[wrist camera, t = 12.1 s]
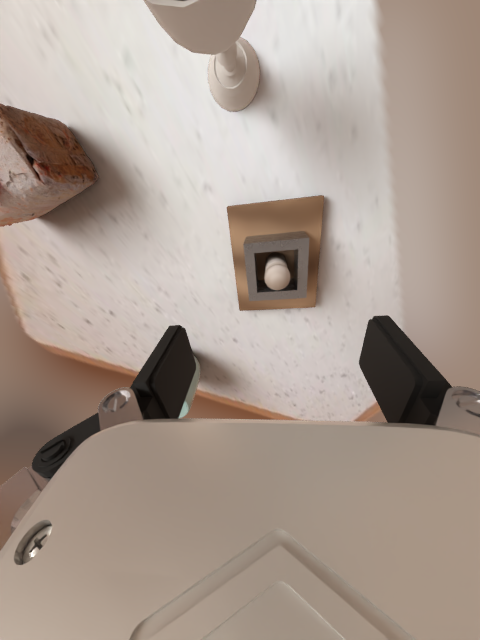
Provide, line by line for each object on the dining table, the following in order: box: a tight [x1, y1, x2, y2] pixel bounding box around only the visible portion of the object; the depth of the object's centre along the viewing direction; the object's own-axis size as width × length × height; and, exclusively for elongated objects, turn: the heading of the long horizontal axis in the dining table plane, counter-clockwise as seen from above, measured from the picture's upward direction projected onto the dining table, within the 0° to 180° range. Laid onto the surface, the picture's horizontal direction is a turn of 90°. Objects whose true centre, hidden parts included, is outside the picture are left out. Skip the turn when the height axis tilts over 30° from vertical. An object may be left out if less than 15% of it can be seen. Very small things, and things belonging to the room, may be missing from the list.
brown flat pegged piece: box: [227, 195, 324, 311], centre depth 26 cm, size 14×11×8 cm
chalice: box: [144, 0, 260, 112], centre depth 13 cm, size 7×7×18 cm
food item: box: [0, 104, 99, 226], centre depth 23 cm, size 14×8×10 cm, turn 112°
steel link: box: [243, 231, 309, 301], centre depth 27 cm, size 7×7×4 cm
